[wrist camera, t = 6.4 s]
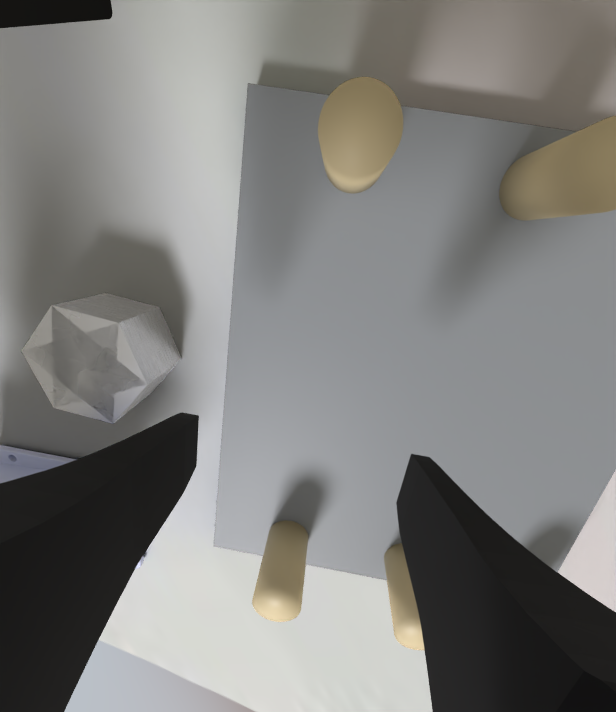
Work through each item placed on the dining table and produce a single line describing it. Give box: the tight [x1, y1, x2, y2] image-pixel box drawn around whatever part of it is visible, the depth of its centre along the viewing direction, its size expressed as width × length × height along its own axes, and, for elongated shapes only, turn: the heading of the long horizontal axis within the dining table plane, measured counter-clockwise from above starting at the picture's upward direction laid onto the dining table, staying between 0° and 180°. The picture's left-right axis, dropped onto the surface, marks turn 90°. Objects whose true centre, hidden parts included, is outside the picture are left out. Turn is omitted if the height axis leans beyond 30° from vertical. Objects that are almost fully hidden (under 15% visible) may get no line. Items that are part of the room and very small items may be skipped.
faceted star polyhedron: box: [21, 293, 182, 424], centre depth 16 cm, size 6×5×4 cm
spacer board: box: [214, 77, 616, 650], centre depth 15 cm, size 20×24×5 cm
